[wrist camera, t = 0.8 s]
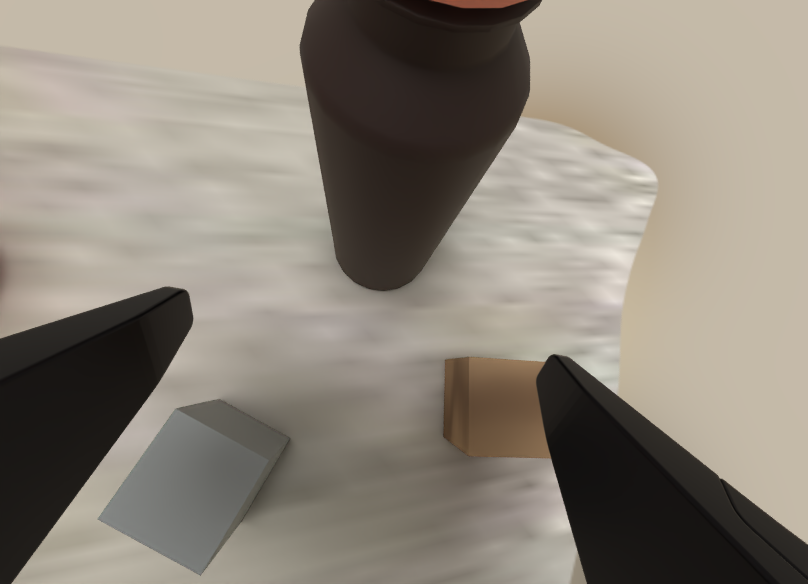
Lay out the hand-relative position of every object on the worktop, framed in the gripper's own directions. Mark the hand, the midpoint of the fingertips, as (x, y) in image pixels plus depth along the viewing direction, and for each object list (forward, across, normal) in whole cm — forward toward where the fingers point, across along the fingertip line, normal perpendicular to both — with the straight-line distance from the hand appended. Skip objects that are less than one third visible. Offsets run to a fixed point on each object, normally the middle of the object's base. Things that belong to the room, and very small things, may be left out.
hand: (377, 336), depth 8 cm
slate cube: (+4, +7, +15) cm, 17 cm away
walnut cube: (+9, -8, +11) cm, 17 cm away
